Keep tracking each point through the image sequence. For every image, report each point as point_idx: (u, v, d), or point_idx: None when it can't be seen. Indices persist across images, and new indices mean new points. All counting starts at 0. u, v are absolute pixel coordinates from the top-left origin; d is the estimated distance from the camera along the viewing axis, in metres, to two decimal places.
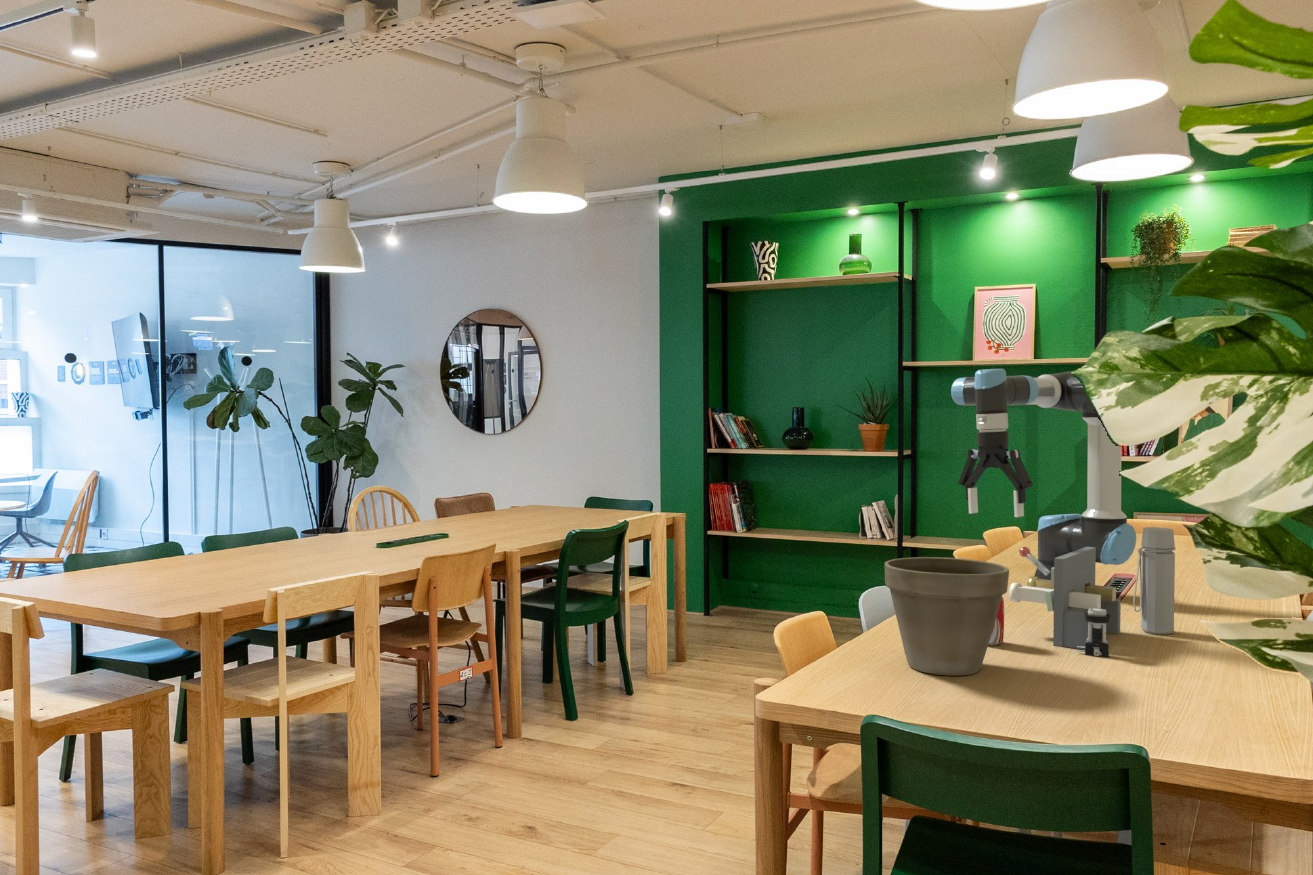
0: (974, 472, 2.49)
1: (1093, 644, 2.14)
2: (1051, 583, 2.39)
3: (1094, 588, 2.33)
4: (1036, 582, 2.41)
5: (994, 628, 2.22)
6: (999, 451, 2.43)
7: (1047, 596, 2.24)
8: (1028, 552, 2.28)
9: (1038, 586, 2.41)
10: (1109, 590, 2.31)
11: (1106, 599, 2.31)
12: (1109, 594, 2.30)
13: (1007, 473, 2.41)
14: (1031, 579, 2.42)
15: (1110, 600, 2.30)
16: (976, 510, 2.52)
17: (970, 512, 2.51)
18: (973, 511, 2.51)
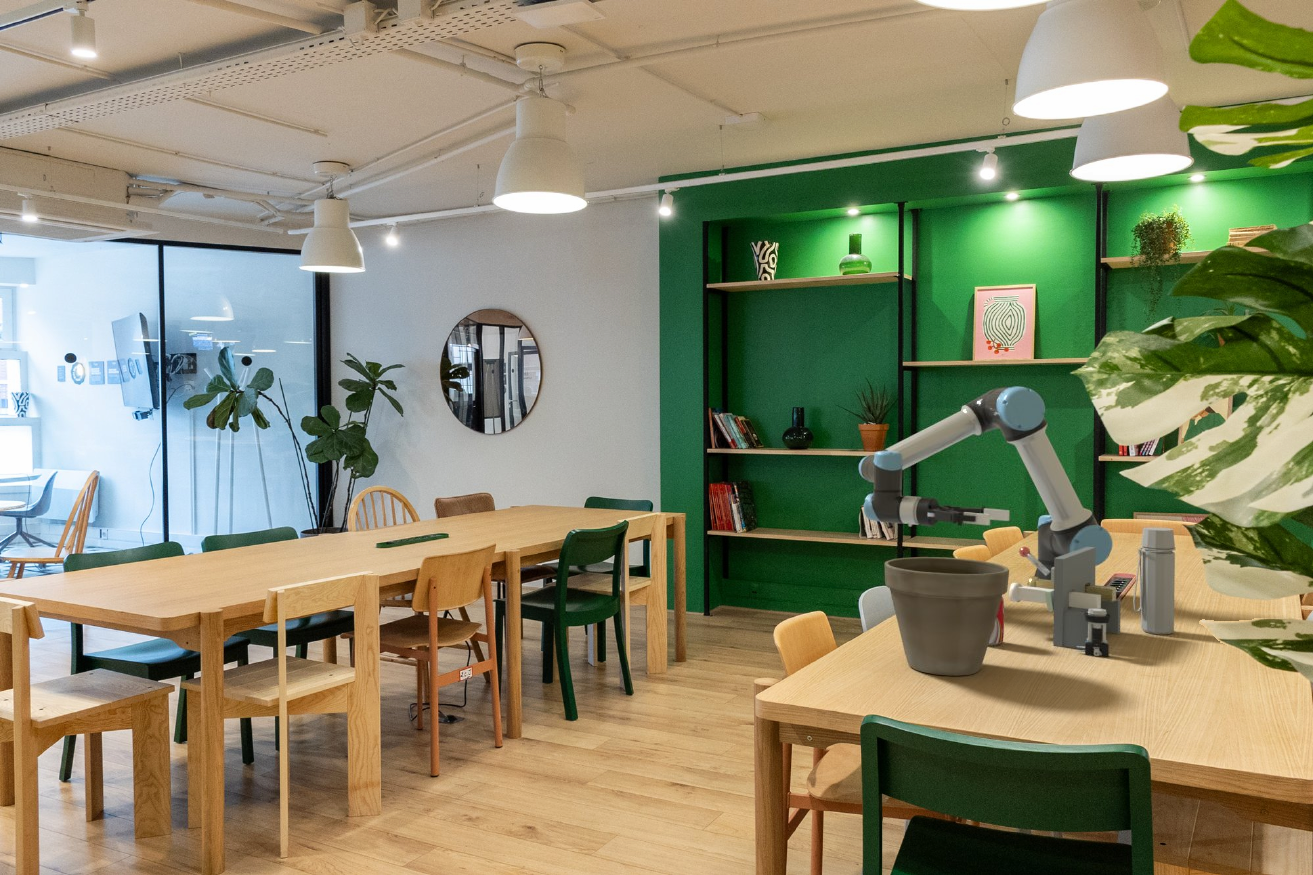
0: None
1: (1093, 644, 2.14)
2: (1051, 583, 2.39)
3: (1094, 588, 2.33)
4: (1036, 582, 2.41)
5: (994, 628, 2.22)
6: None
7: (1047, 596, 2.24)
8: (1028, 552, 2.28)
9: (1038, 586, 2.41)
10: (1109, 590, 2.31)
11: (1106, 599, 2.31)
12: (1109, 594, 2.30)
13: None
14: (1031, 579, 2.42)
15: (1110, 600, 2.30)
16: (1006, 512, 2.54)
17: (1007, 520, 2.54)
18: (1006, 517, 2.54)
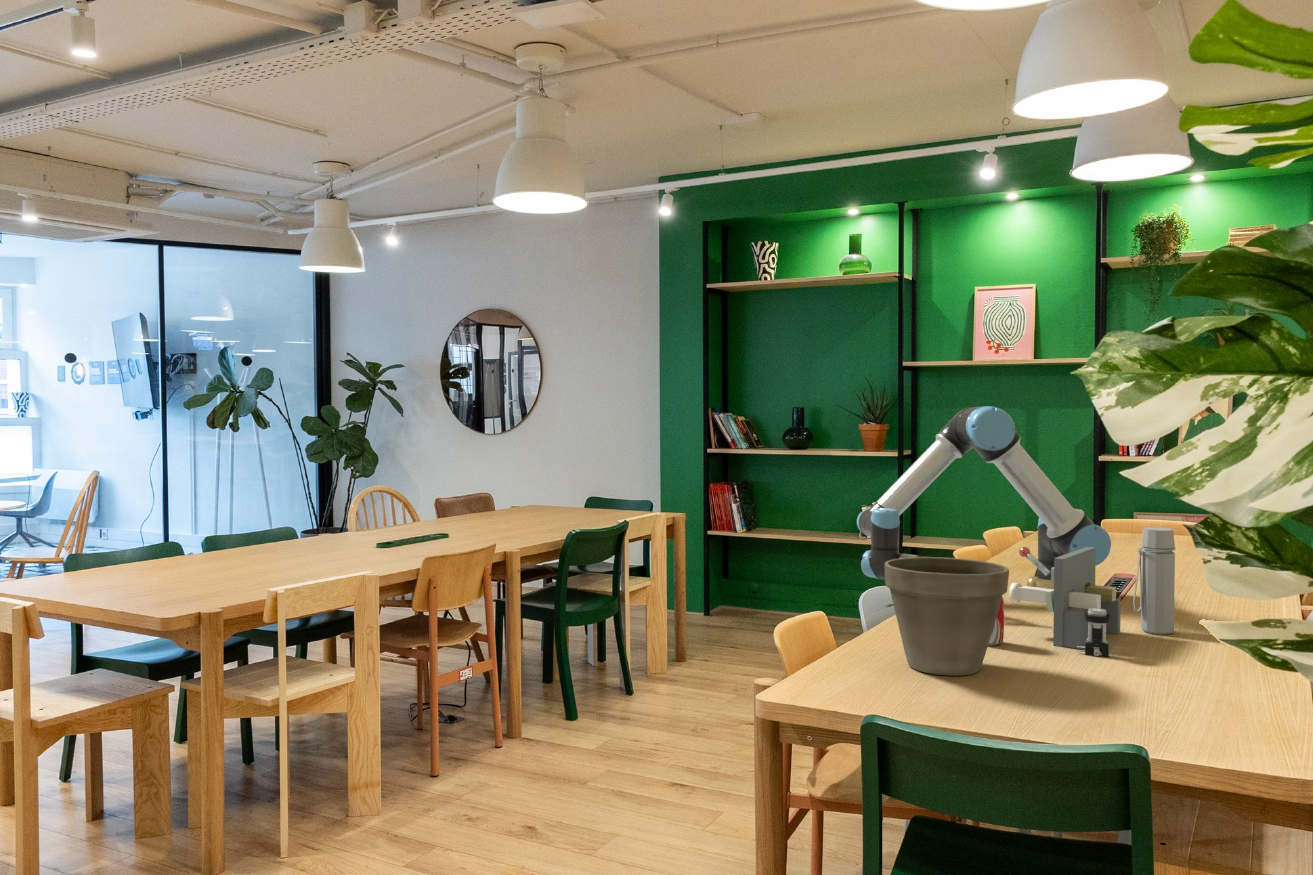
0: None
1: (1093, 644, 2.14)
2: (1051, 583, 2.39)
3: (1094, 588, 2.33)
4: (1036, 582, 2.41)
5: (994, 628, 2.22)
6: None
7: (1047, 596, 2.24)
8: (1028, 552, 2.28)
9: (1038, 586, 2.41)
10: (1109, 590, 2.31)
11: (1106, 599, 2.31)
12: (1109, 594, 2.30)
13: None
14: (1031, 579, 2.42)
15: (1110, 600, 2.30)
16: None
17: None
18: None
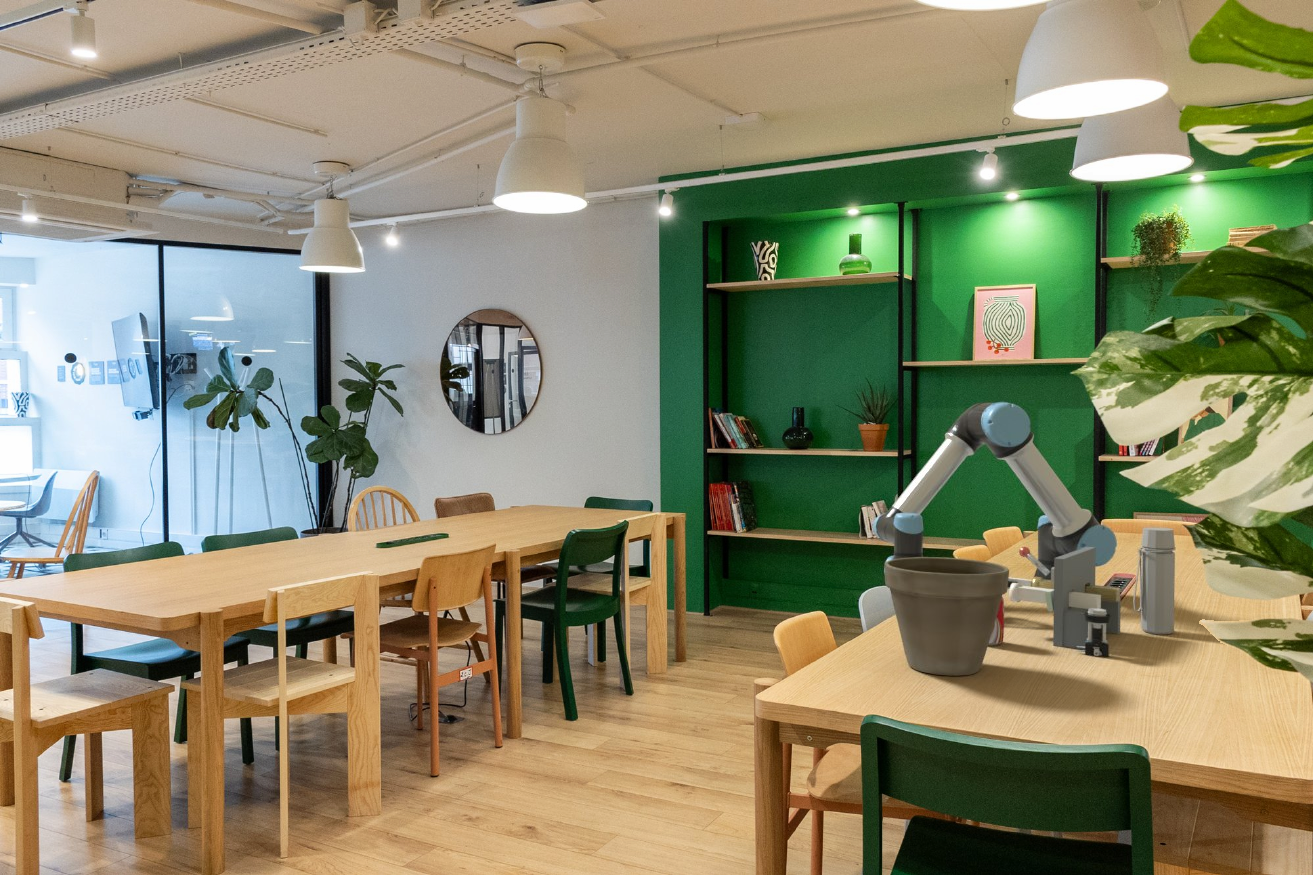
0: None
1: (1093, 644, 2.14)
2: None
3: (1098, 588, 2.32)
4: (1040, 582, 2.41)
5: (994, 628, 2.22)
6: None
7: (1047, 596, 2.24)
8: (1028, 552, 2.28)
9: (1042, 586, 2.41)
10: (1113, 590, 2.30)
11: (1110, 599, 2.30)
12: (1113, 594, 2.30)
13: None
14: (1035, 579, 2.42)
15: (1114, 600, 2.30)
16: None
17: None
18: None
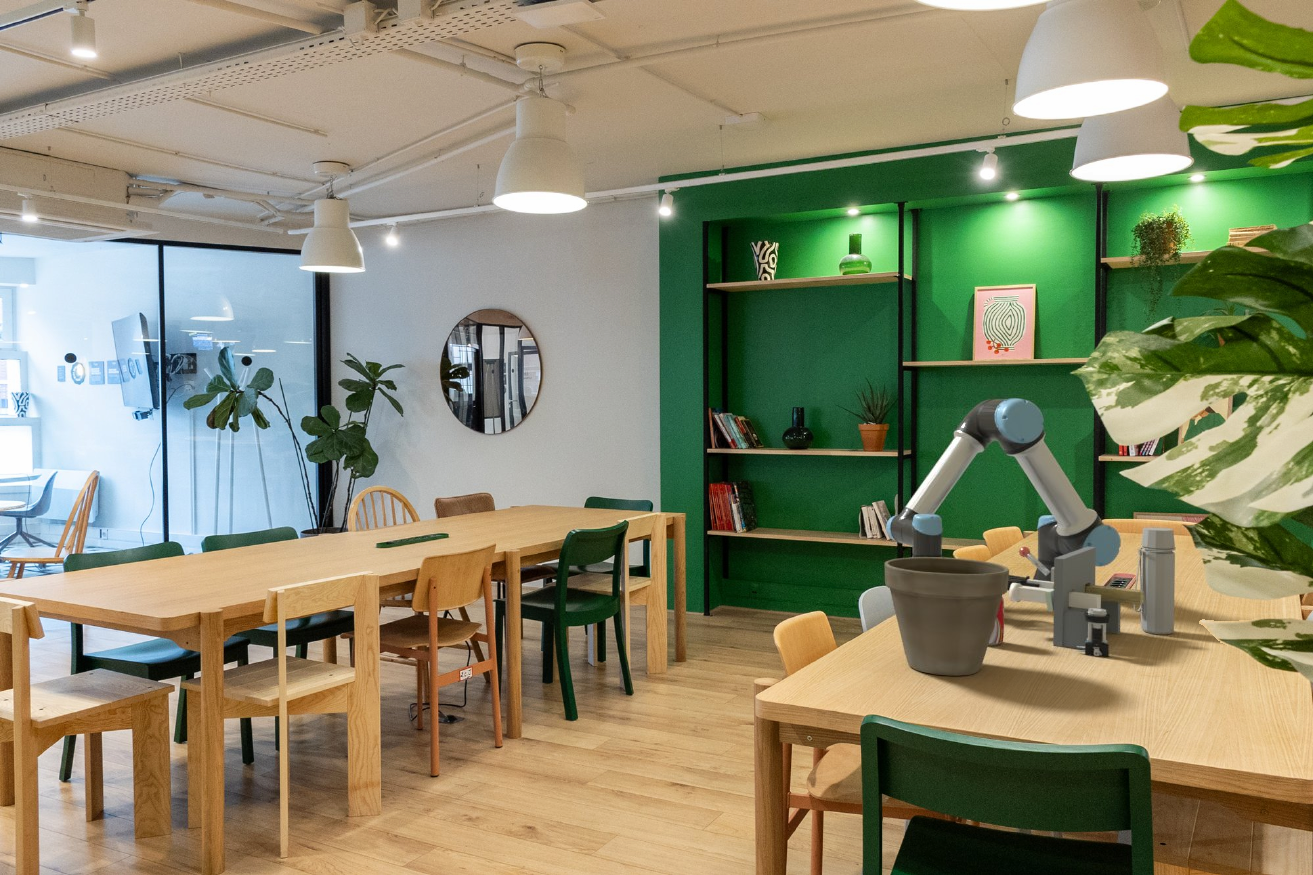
0: None
1: (1093, 644, 2.14)
2: None
3: (1122, 591, 2.29)
4: None
5: (994, 628, 2.22)
6: None
7: (1047, 596, 2.24)
8: (1028, 552, 2.28)
9: None
10: (1137, 593, 2.27)
11: (1134, 602, 2.27)
12: (1138, 597, 2.27)
13: None
14: None
15: (1138, 603, 2.26)
16: None
17: None
18: None
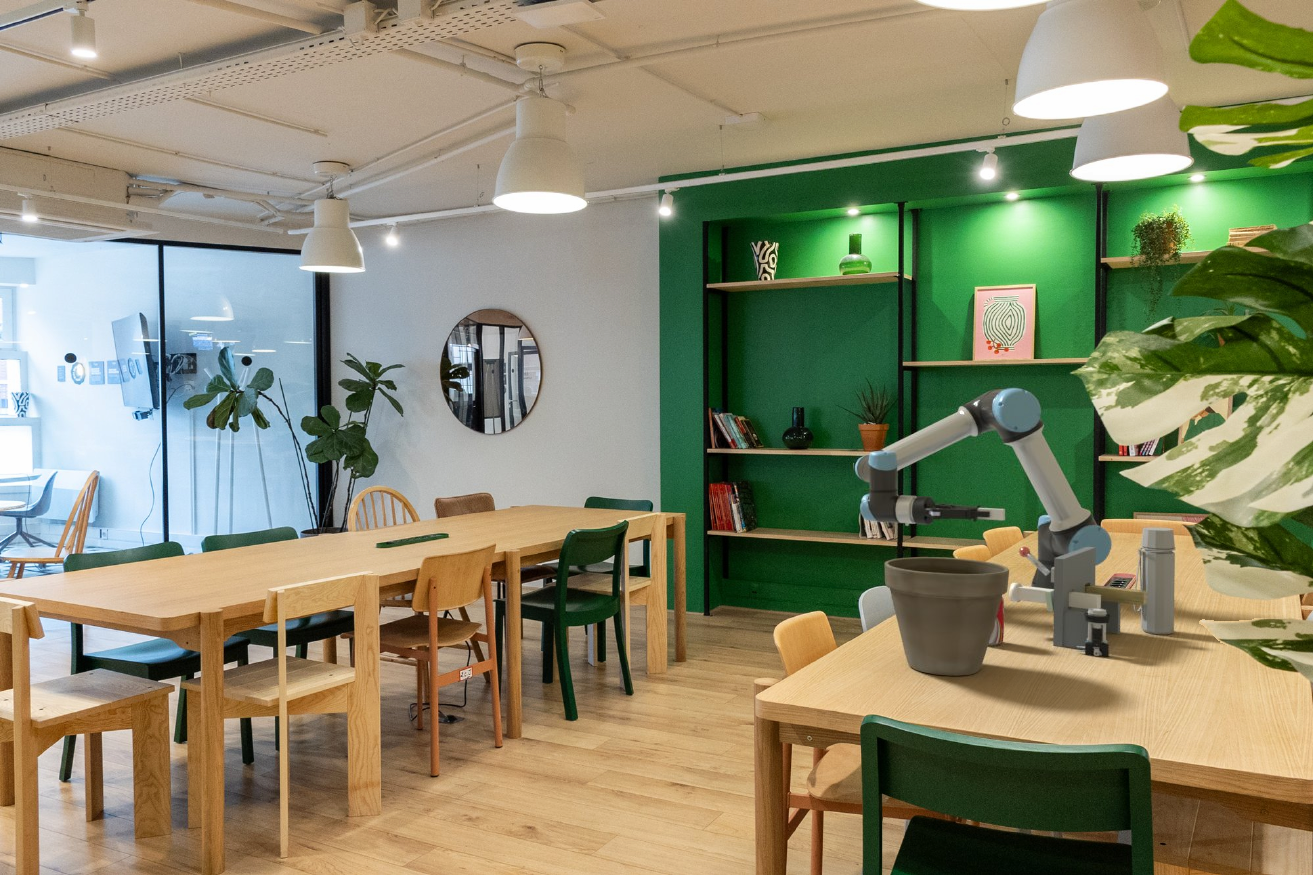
0: None
1: (1093, 644, 2.14)
2: None
3: (1125, 591, 2.28)
4: None
5: (994, 628, 2.22)
6: (929, 516, 2.57)
7: (1047, 596, 2.24)
8: (1028, 552, 2.28)
9: None
10: (1140, 594, 2.26)
11: (1137, 603, 2.27)
12: (1141, 598, 2.26)
13: None
14: None
15: (1141, 604, 2.26)
16: None
17: (1003, 519, 2.48)
18: None
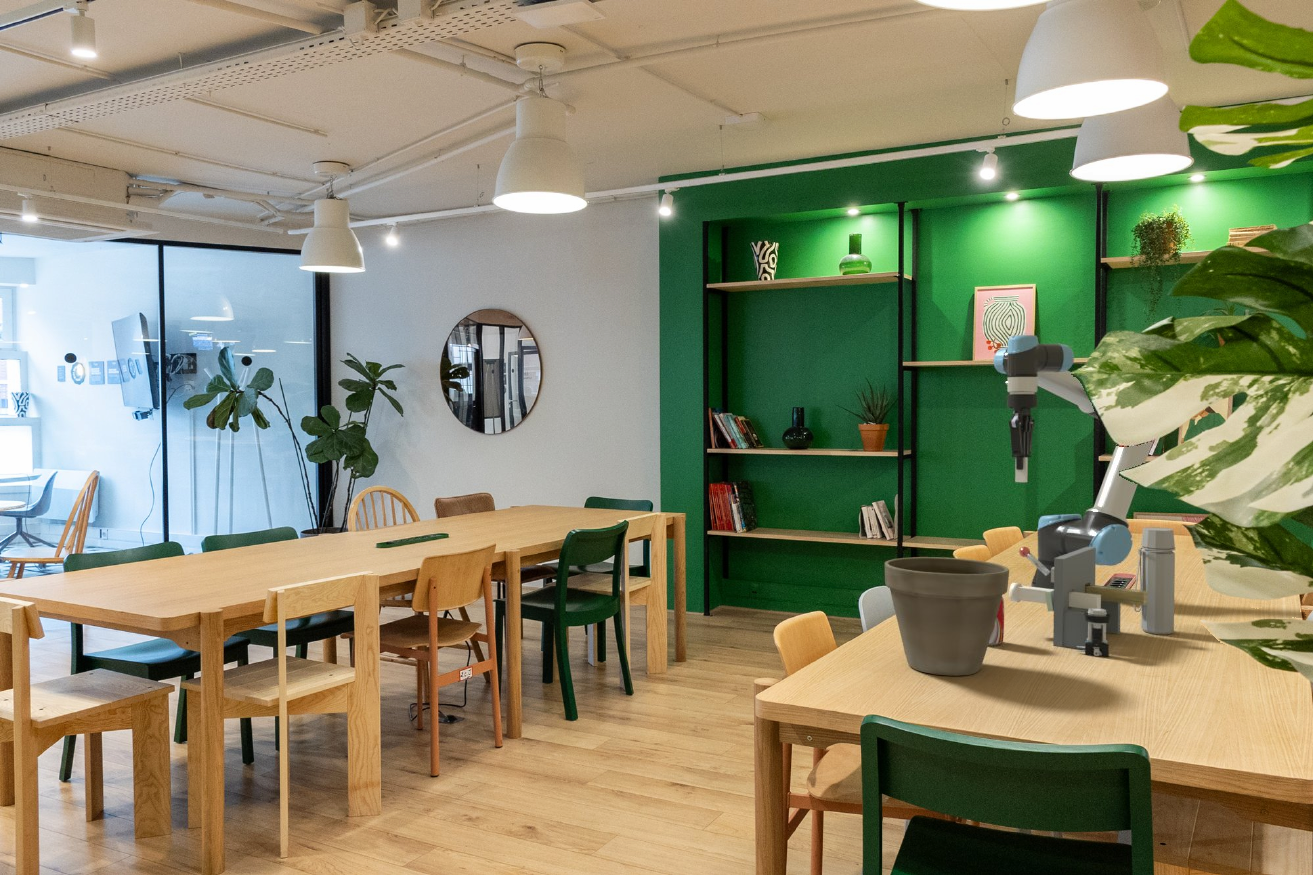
0: None
1: (1093, 644, 2.14)
2: None
3: (1125, 591, 2.28)
4: None
5: (994, 628, 2.22)
6: None
7: (1047, 596, 2.24)
8: (1028, 552, 2.28)
9: None
10: (1140, 594, 2.26)
11: (1137, 603, 2.27)
12: (1141, 598, 2.26)
13: None
14: None
15: (1141, 604, 2.26)
16: None
17: None
18: None
